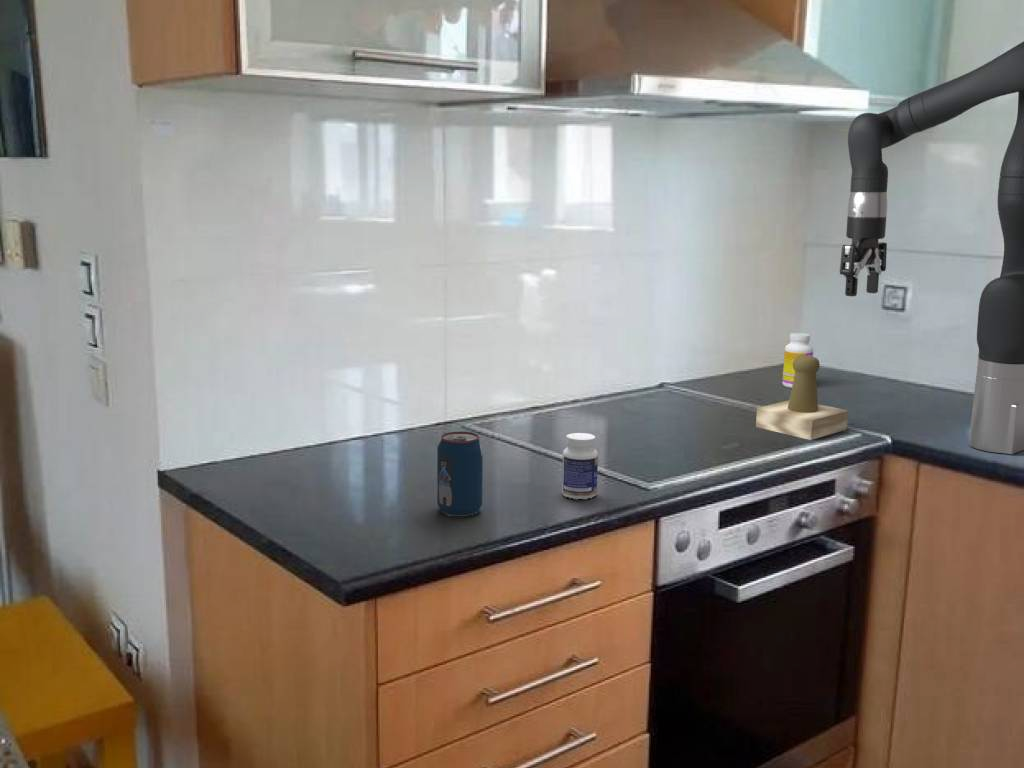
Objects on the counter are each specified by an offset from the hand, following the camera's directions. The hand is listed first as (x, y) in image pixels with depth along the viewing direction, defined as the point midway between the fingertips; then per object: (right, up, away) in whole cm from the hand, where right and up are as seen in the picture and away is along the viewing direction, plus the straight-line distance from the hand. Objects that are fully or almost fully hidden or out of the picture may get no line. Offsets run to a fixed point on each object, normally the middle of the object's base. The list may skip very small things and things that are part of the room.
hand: (861, 294), depth 214 cm
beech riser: (-13, -28, -1) cm, 30 cm away
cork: (-13, -24, -2) cm, 27 cm away
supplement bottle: (-3, -19, +39) cm, 43 cm away
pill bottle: (-61, -37, -45) cm, 84 cm away
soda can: (-80, -38, -53) cm, 103 cm away
